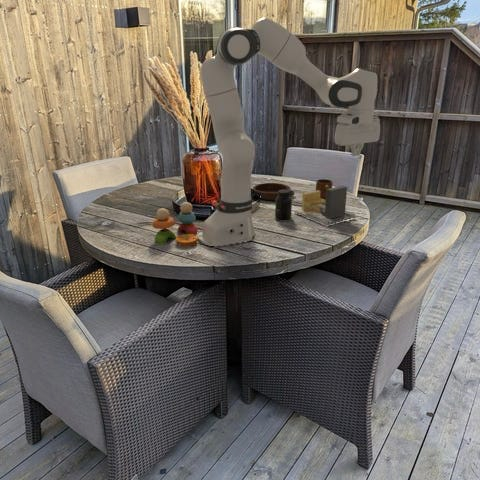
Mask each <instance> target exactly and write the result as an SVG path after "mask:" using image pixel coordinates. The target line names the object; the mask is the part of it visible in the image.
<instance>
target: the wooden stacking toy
mask: <svg viewBox="0 0 480 480" xmlns="http://www.w3.org/2000/svg"><path fill="white" fill-rule="evenodd" d="M179 208H180V212H179V214H178V217H177V220H178V221H179V222H180V223H181V224H180V225H178V228H177V233H178V232H179V233H181V232H183V230H184V231H185V234H181V235H178V236H176V235H175V233H174V232H173V231H172V230H170V228H171V227H172V228H173V227H174V226H175V224H176V221H175V219H174V218H173V217H171V216H170V212H169V210H168V209H166V208H163V207H161V208H158V209H157V211H156V213H155V215H156V218H154V219H153V221H152V227H153V228H154V229H157V230H158V229H159V230H158V231H157V232H156V234H155V235H154V242H155V243H156V244H158V243H160V245H165V243H166V244H167V241H168V240H169V239H172V238H173V240H175V242H176V243H177V245H178V246H179V245H180V246H179V247H182V246H190V247H192V246H191V245H194V244H195V245H197V242H198V237H197V234H198V233H197V232H199V231H198V227H197V226H196V225H195V223H193V222H195V221H196V215H195V213H194V212H193V205H192V203H190V201H189V202H188V201H184V202H182V203H181V205H180V206H179ZM186 232H187V233H186ZM195 233H196V234H195ZM192 234H194V235H192ZM168 238H169V239H168ZM175 238H176V239H175ZM195 245H194V246H195Z"/></svg>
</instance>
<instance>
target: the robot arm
mask: <svg viewBox="0 0 480 480" xmlns="http://www.w3.org/2000/svg"><path fill="white" fill-rule="evenodd" d="M215 48H216V49H215V52H214V56H210V57H208V58H207V59H205V60H204V61H203V62H202V63H201V66H200V74H201V75H200V76H201V83H202V88H203V92H204V96H205V100H206V104H207V106H208V107H207V109H208V111H209V114H210V115H209V116H210V117H211V118H210V119H211V124H212V128H213V133H214V137H215V143H216V147H217V149H218V151H219V154H221V157H222V166H221V176H220V199H219V202H218V201H216V200H212V202H211V205H212V206H214V207H216V208H217V209H216V210H215V211H214V212H213V213H212V214H211V215H209V217H208V218H206V219H205V220H204V221H203V225H202V232H199V233H196V236H197V237H198V239H197V241H199V242H200V243H201V242H202V243H201V244H203V243H204V244H203V245H205V244H206V245H205V246H207V245H209V246H208V247H210V246H215V247H214V248H217V247H216V246H221V247H224V246H223V245H227V246H230V245H229V244H233V245H236V244H235V243H239V244H241V243H240V242H245V241H250V240H252V241H253V238H254V237H255V235H256V231H255V228H254V225H253V218H252V217H253V216H252V209H253V198H252V196H251V191H252V185H251V184H252V182H251V181H252V172H253V167H254V159H255V155H256V148H255V144H254V142H253V140H252V139H251V138H250V137H249V136H248V135H247V134H246V130H245V127H244V118H243V108H242V104H241V100H240V95H239V92H238V89H237V85H236V81H235V68H236V66H239V65H240V66H241V65H244V64H246V63H248V61H250V60H251V59H252V58H253V57H255V55H256V54H258V55H259V56H262V57H263V58H265V59H266V60H267V61H268V62H270V63H271V64H272V65H274V66H275V67H276V68H278V69H280V70H282V71H284V72H286V73H288V74H291V75H292V74H293V75H294V76H296V77H298V78H299V79H301V80H302V81H303V82H305V83H306V85H308V86H310V87H311V88H312V90H313V91H314V92H315V93H316V96H317V98H318V100H319V101H320V102H321V103H322V104H324V105H327V106H332V107H334V108H337V109H338V108H339V109H341V108H348V111H346V112H344V113H342V114H340V115H338V116H337V119H336V122H337V125H336V127H335V132H334V141H333V142H334V143H335V144H336V145H337V146H342V147H343V146H344V147H345V146H349V147H350V150H351V151H350V153H351V154H350V155H351V156H352V157H356V156H357V157H359V156H360V155H361V152H362V150H363V147H364V145H365V144H367V143H375V142H378V141H379V140H380V136H381V123H380V121H381V119H380V118H379V116H378V115H374V114H375V101H376V99H377V92H378V74H377V73H376V72H375V71H374V70H371V69H367V68H361V67H359V68H355V69H354V71H352V72H350V73H348V74H346V75H344V76H341V77H337V76H335V75H328V74H326V73H324V72H323V71H322V70H320V69H319V68H318V67H317V66H315V65H314V64H313V63H312V62H311V61H310V60H309V58H308V57H307V53H306V50H307V49H306V46H305V45H304V44H303V43H302V41H301V40H300V39H299V38H298V37H297V36H296V35H294V34H293V33H292V32H291V31H289V30H288V29H287V28H285V27H284V26H283V25H281V24H279V23H278V22H276V21H274V20H272V19H270V18H268V17H261V18H259V19H258V20H256V21H255V22H254V24H253V25H252V26H251V28H243V27H236V26H235V27H234V26H233V27H229V28H227V29H226V30H224V31H222V33H221V34H220V36H219V38H218V40H217V43H216V47H215ZM253 236H254V237H253ZM252 237H253V238H252ZM245 243H246V242H245Z"/></svg>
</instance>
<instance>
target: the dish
mask: <svg viewBox="0 0 480 480" xmlns="http://www.w3.org/2000/svg"><path fill="white" fill-rule="evenodd" d="M253 190H254V191H255V192H257V193H259V194H260V196H261V198H262V199H261V200H264V199H265V201H276V198H277V197H278V191H279V190H289V191H290V196H289V197H292V196H294V195H295V191H294V190H291V186H289V185H287V184H284V183H278V182H265V183H259V184H256V185H254V186H253V187H252V191H253Z"/></svg>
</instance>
